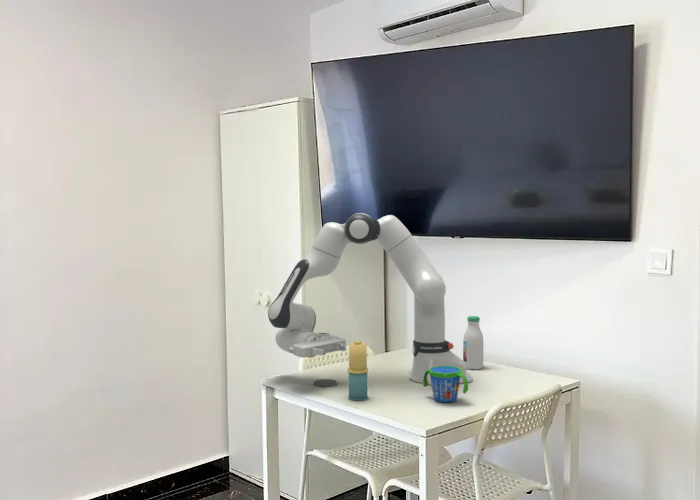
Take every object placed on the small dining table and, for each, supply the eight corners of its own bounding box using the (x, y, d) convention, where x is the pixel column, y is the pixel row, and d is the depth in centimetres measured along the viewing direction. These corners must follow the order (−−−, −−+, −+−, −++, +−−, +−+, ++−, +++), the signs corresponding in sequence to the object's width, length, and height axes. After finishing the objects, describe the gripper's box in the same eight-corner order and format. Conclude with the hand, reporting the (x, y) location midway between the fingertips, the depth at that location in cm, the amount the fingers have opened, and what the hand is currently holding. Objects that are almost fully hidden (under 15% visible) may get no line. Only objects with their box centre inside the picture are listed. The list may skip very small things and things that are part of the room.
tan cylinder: (367, 368, 233) (367, 339, 232) (369, 373, 226) (369, 343, 225) (346, 368, 232) (346, 340, 232) (348, 373, 225) (348, 344, 225)
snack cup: (416, 398, 228) (416, 368, 228) (435, 392, 236) (435, 362, 235) (455, 408, 218) (455, 376, 217) (474, 401, 225) (474, 370, 225)
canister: (367, 394, 233) (366, 368, 233) (369, 400, 227) (368, 373, 226) (347, 395, 233) (347, 368, 232) (348, 401, 226) (348, 373, 226)
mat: (336, 380, 252) (336, 378, 252) (337, 386, 244) (337, 384, 244) (313, 381, 252) (313, 379, 252) (313, 387, 243) (313, 385, 243)
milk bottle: (486, 367, 271) (486, 316, 270) (478, 371, 265) (479, 319, 263) (467, 364, 275) (468, 314, 274) (459, 368, 269) (460, 317, 268)
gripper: (285, 340, 240) (310, 345, 230) (330, 332, 254) (356, 337, 244) (285, 358, 241) (310, 364, 231) (330, 349, 255) (356, 355, 244)
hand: (334, 350), depth 237 cm, fingers open, 8 cm apart
